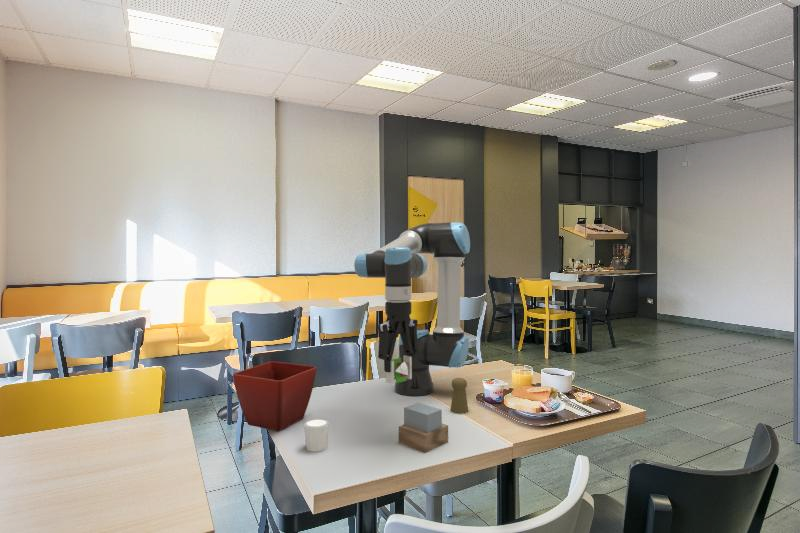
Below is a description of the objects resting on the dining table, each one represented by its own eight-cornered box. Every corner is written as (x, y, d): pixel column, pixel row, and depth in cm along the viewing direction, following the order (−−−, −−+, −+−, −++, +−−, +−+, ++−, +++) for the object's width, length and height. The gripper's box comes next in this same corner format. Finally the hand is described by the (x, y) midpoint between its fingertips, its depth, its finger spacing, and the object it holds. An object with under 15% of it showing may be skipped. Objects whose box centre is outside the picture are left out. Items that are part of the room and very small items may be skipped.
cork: (471, 412, 161) (471, 379, 161) (455, 414, 159) (455, 381, 159) (462, 406, 167) (462, 375, 166) (447, 409, 165) (447, 377, 164)
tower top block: (418, 419, 142) (418, 402, 142) (441, 427, 136) (441, 409, 135) (404, 424, 138) (403, 407, 138) (427, 433, 131) (427, 415, 131)
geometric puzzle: (377, 372, 140) (388, 353, 136) (394, 368, 145) (405, 349, 141) (391, 391, 136) (403, 372, 132) (408, 386, 141) (420, 368, 137)
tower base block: (421, 433, 144) (421, 417, 144) (448, 442, 137) (448, 425, 137) (398, 443, 137) (398, 426, 136) (425, 453, 130) (425, 435, 130)
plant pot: (318, 416, 158) (318, 366, 158) (281, 437, 141) (280, 380, 140) (272, 408, 166) (271, 360, 166) (231, 427, 149) (230, 374, 148)
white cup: (302, 444, 136) (302, 420, 135) (326, 441, 138) (326, 417, 138) (306, 454, 129) (306, 428, 129) (331, 450, 132) (331, 425, 131)
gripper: (382, 304, 128) (382, 390, 129) (430, 299, 142) (431, 376, 143) (364, 302, 134) (364, 384, 135) (412, 297, 147) (412, 372, 148)
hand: (398, 380), depth 139 cm, fingers closed on geometric puzzle, 6 cm apart
